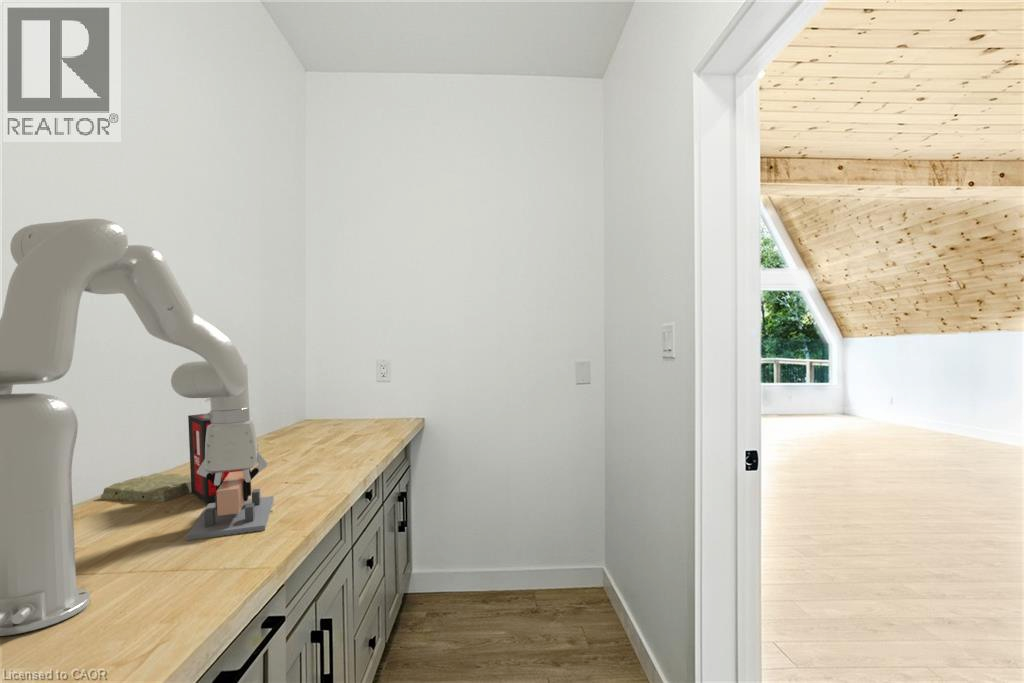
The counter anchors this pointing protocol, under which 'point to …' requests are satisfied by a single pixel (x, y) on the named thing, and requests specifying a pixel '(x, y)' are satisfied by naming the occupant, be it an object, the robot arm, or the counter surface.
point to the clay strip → (230, 494)
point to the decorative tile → (150, 488)
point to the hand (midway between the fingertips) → (234, 500)
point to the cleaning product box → (200, 459)
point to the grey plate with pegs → (233, 518)
